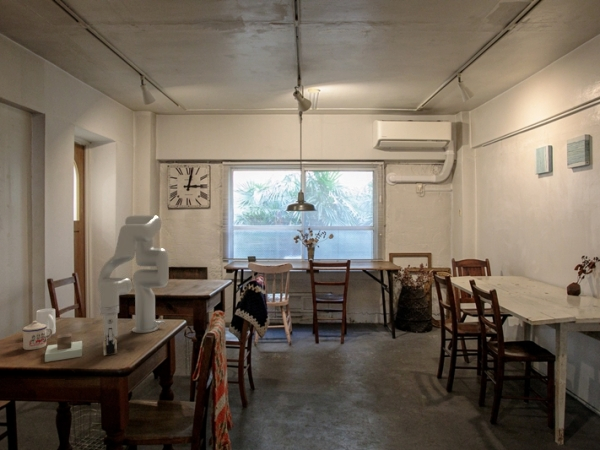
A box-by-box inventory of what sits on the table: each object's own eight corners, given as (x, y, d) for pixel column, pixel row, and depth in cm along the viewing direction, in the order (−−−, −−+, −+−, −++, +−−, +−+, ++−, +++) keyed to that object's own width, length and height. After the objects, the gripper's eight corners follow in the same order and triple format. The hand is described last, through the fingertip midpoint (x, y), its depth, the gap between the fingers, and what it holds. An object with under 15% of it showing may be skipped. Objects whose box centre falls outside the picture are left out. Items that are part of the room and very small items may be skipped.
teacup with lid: (29, 351, 168) (28, 325, 168) (18, 348, 173) (18, 322, 173) (57, 343, 179) (57, 318, 179) (47, 340, 183) (46, 316, 183)
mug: (43, 338, 187) (42, 314, 187) (33, 334, 194) (33, 310, 194) (61, 334, 193) (61, 310, 193) (51, 330, 200) (51, 307, 200)
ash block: (116, 349, 169) (116, 338, 169) (116, 353, 165) (116, 341, 165) (103, 351, 167) (103, 340, 167) (103, 355, 163) (103, 343, 163)
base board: (82, 347, 173) (82, 340, 173) (81, 356, 162) (81, 349, 162) (47, 352, 167) (47, 345, 167) (44, 361, 156) (44, 354, 156)
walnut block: (71, 344, 168) (71, 333, 168) (71, 348, 164) (71, 336, 164) (58, 346, 166) (57, 334, 166) (57, 350, 161) (57, 338, 161)
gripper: (120, 312, 160) (121, 356, 160) (117, 304, 175) (118, 344, 175) (100, 315, 156) (100, 359, 157) (99, 306, 171) (99, 347, 172)
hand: (110, 351), depth 166 cm, fingers closed on ash block, 5 cm apart
